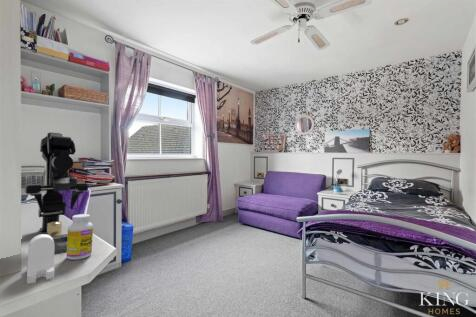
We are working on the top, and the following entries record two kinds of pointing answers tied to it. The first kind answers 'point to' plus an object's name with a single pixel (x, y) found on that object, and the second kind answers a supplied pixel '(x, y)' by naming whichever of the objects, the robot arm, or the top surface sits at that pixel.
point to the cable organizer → (40, 258)
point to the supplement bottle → (79, 237)
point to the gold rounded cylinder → (54, 228)
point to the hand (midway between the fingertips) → (57, 210)
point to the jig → (60, 243)
